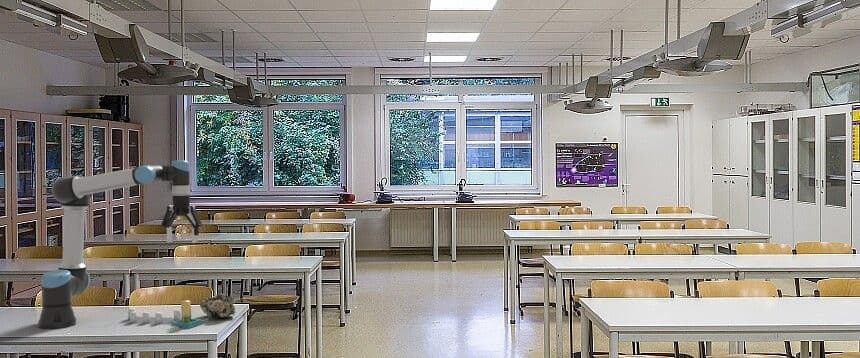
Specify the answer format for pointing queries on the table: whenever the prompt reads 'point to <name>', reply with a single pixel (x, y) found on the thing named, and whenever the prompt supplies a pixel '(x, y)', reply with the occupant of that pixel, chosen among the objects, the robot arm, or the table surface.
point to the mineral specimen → (218, 306)
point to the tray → (187, 325)
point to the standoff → (186, 311)
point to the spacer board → (151, 318)
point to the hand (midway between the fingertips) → (182, 242)
